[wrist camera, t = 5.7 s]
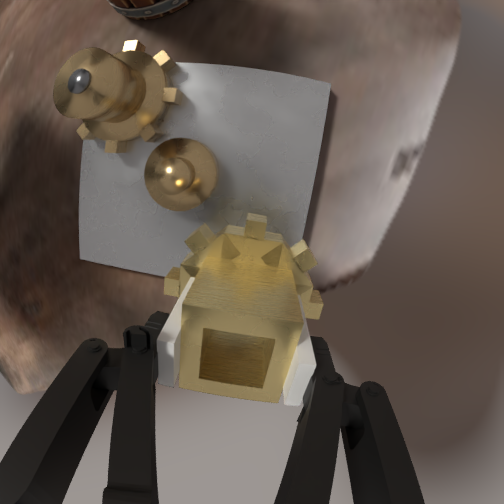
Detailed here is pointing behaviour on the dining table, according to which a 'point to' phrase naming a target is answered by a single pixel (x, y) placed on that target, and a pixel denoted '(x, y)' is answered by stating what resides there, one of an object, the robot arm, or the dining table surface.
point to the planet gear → (242, 309)
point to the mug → (147, 7)
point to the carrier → (186, 151)
